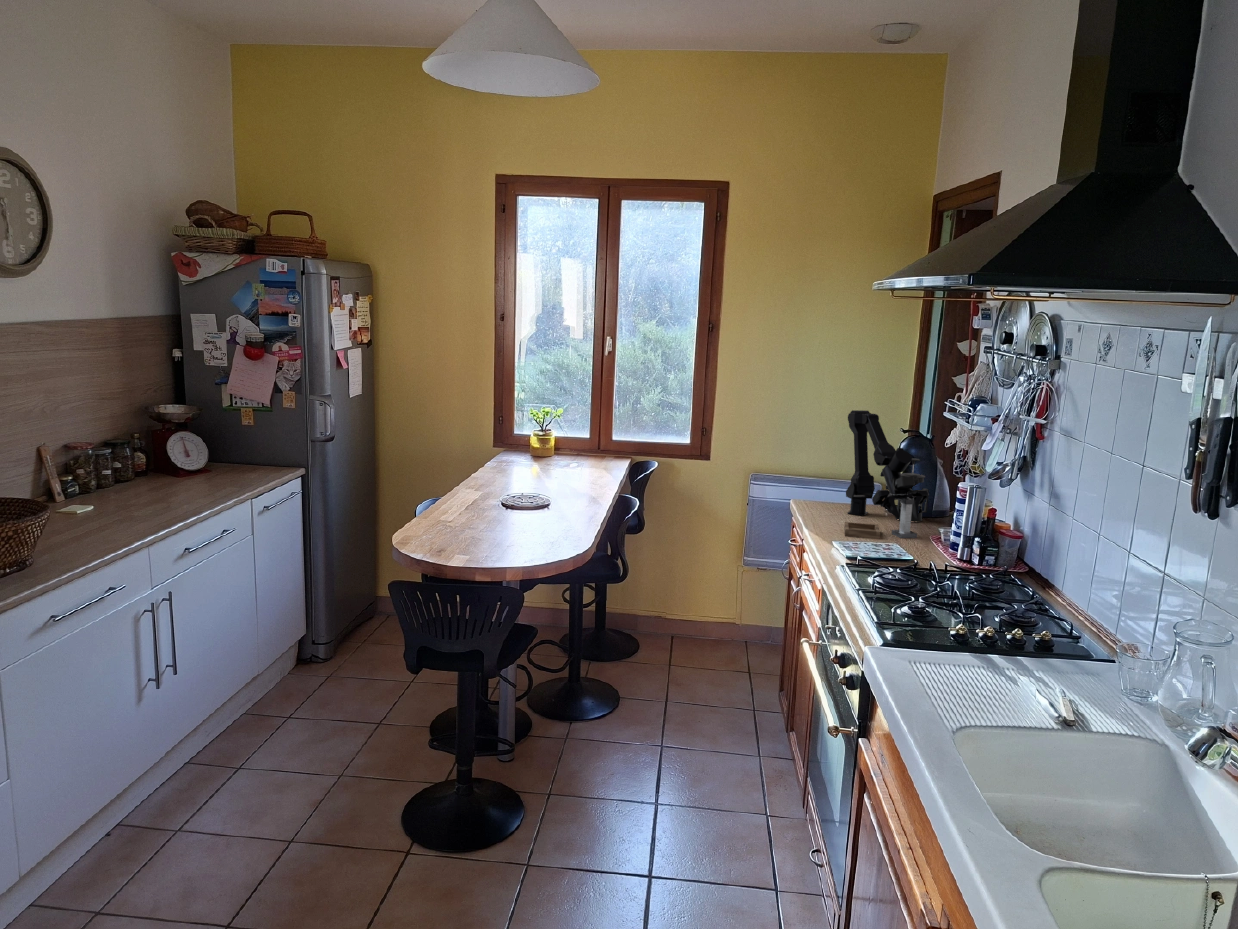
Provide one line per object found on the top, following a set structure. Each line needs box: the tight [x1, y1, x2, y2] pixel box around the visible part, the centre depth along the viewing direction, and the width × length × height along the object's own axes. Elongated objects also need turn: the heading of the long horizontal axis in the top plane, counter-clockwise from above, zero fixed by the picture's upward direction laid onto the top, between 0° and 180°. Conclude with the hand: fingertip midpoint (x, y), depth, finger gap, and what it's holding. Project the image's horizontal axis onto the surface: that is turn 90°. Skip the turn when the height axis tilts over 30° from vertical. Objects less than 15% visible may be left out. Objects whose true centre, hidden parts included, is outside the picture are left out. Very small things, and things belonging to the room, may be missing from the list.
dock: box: [843, 521, 881, 540], centre depth 299 cm, size 11×11×2 cm
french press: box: [895, 457, 930, 522], centre depth 322 cm, size 12×9×23 cm
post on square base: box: [891, 498, 918, 539], centre depth 297 cm, size 6×6×13 cm
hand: (907, 518), depth 295 cm, fingers open, 7 cm apart
